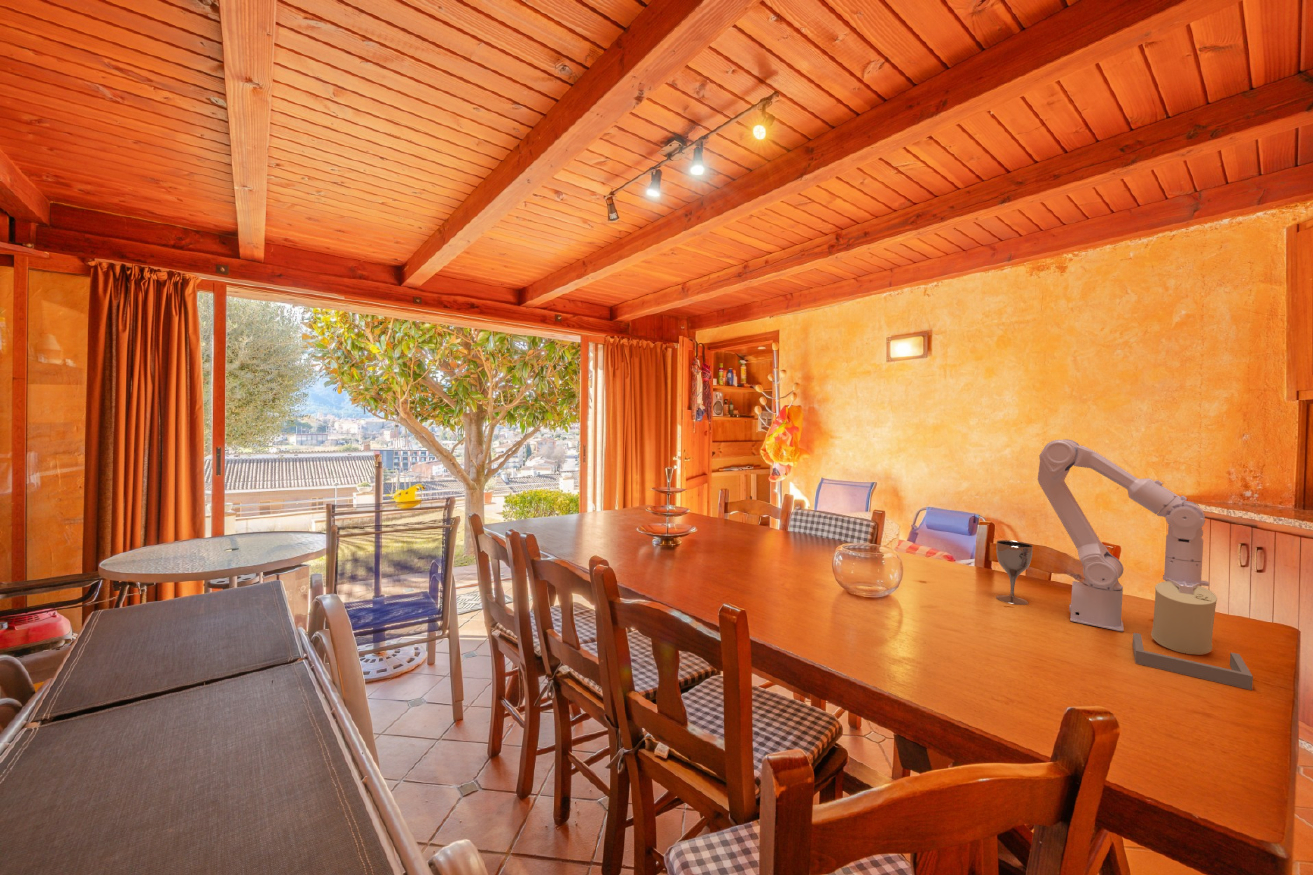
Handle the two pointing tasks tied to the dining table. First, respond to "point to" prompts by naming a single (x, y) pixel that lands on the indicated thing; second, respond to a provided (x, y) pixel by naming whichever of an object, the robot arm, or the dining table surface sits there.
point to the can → (1184, 619)
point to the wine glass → (1013, 564)
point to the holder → (1195, 666)
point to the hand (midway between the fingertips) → (1180, 620)
